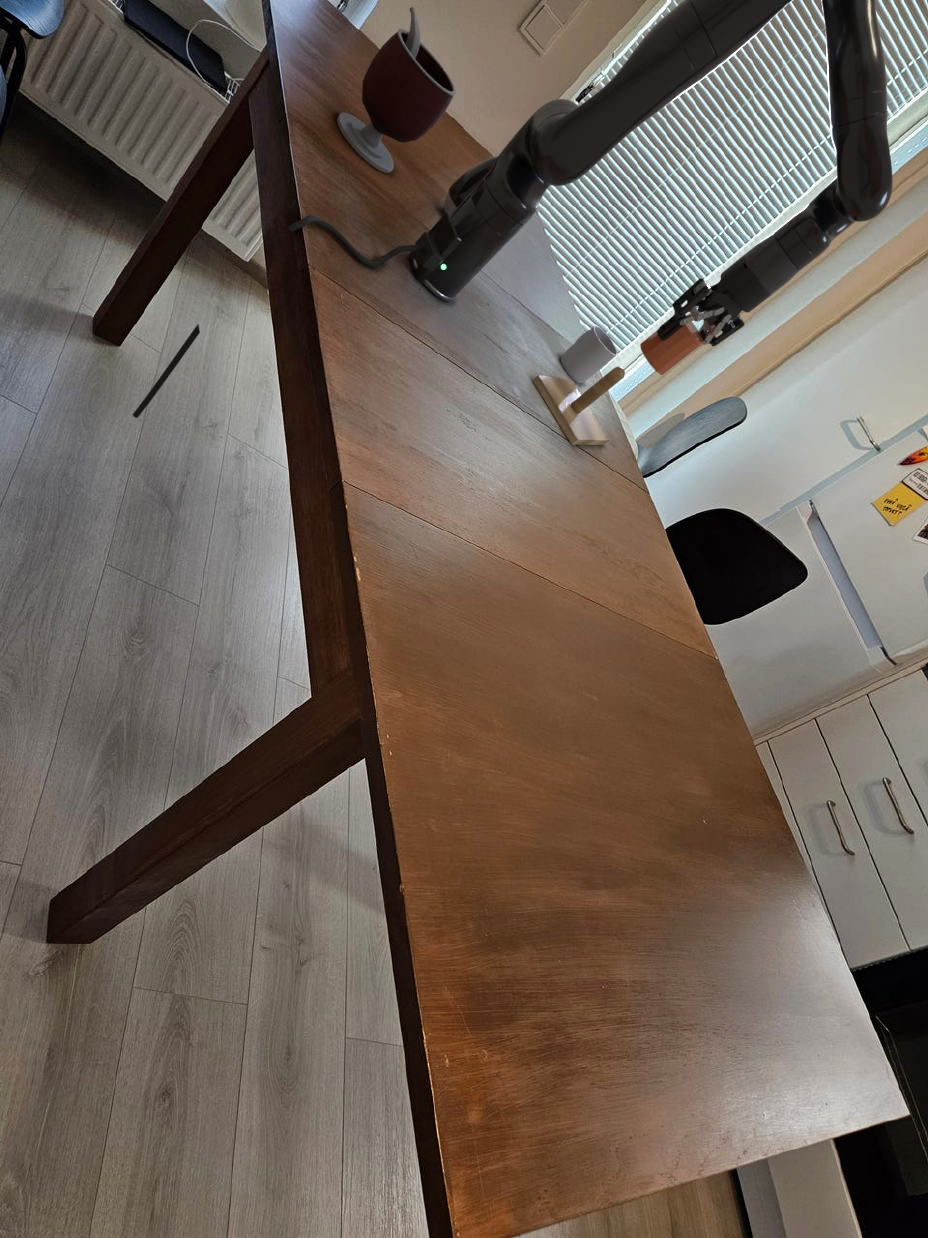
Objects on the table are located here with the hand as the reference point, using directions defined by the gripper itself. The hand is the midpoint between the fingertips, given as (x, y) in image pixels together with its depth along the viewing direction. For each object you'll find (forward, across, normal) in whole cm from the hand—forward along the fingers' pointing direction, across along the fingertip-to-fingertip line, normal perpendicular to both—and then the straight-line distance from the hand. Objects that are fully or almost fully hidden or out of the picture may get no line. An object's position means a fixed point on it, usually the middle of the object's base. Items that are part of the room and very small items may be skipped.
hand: (670, 344), depth 132 cm
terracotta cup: (+4, 0, 0) cm, 4 cm away
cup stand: (+22, -3, -4) cm, 23 cm away
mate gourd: (+23, +34, -53) cm, 67 cm away
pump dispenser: (+23, +12, -47) cm, 54 cm away
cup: (+23, -12, -21) cm, 34 cm away
